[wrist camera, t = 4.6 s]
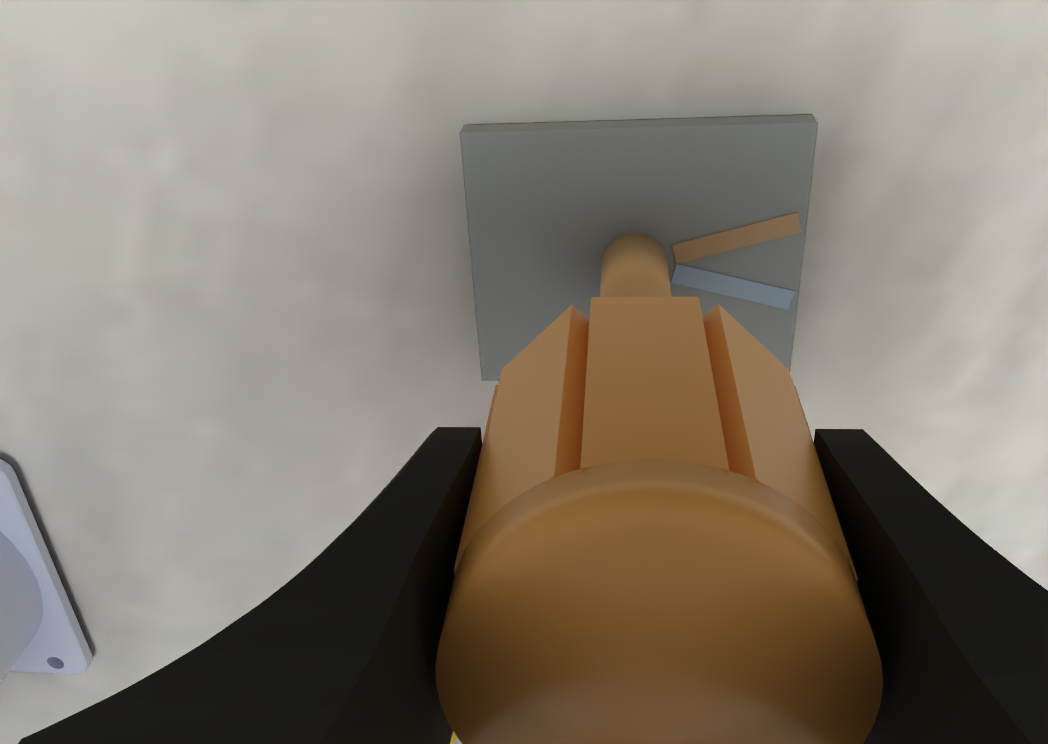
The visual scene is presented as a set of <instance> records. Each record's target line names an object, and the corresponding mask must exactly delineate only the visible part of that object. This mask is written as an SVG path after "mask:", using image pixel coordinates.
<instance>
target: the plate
mask: <svg viewBox="0 0 1048 744" xmlns="http://www.w3.org/2000/svg"><path fill="white" fill-rule="evenodd" d="M817 125H818V122H817V121H816V119H815V118H814V117H813V115H778V116H745V117H712V118H679V119H646V120H613V121H579V122H546V123H513V124H480V125H464V126H463V128H462V130H461V132H460V139H461V151H462V162H463V173H464V184H465V195H466V207H467V218H468V229H469V240H470V251H471V263H472V274H473V285H474V296H475V307H476V319H477V330H478V341H479V352H480V363H481V374H482V380H500V377H501V373H502V369H503V368H504V367H505V366H506V365H507V364H508V363H509V362H510V361H512V360H513V359H514V358H515V357H516V356H517V355H518V354H519V353H520V352H521V351H522V350H523V349H524V348H525V347H527V346H528V345H529V344H530V343H531V342H532V341H533V340H534V339H535V338H536V337H537V336H538V335H539V334H541V333H542V332H543V331H544V330H545V329H546V328H547V327H548V326H549V325H550V324H551V323H552V322H553V321H555V320H556V319H557V318H558V317H559V316H560V315H561V314H562V313H563V312H564V311H565V310H566V309H567V308H569V307H570V306H571V305H573V306H574V307H575V308H576V309H577V310H578V311H579V312H581V313H582V314H583V315H584V316H585V317H586V318H587V319H589V320H590V303H591V297H698V296H699V300H700V306H701V312H702V317H703V316H704V315H706V314H707V313H708V312H709V311H710V310H712V309H713V308H714V307H715V306H716V305H718V304H719V305H720V306H721V307H722V308H723V309H725V310H726V311H727V312H728V313H729V314H730V315H731V316H732V317H733V318H734V319H735V320H736V321H737V322H738V323H740V324H741V325H742V326H743V327H744V328H745V329H746V330H747V331H748V332H749V333H750V334H751V335H752V336H753V337H755V338H756V339H757V340H758V341H759V342H760V343H761V344H762V345H763V346H764V347H765V348H766V349H767V350H768V351H770V352H771V353H772V354H773V355H774V356H775V357H776V358H777V359H778V360H779V361H780V362H781V363H782V364H783V365H785V366H786V367H787V368H788V369H789V372H790V365H791V356H792V348H793V339H794V330H795V321H796V312H797V303H798V294H799V285H800V276H801V267H802V258H803V250H804V241H805V232H806V223H807V214H808V205H809V196H810V187H811V178H812V169H813V160H814V152H815V143H816V134H817Z"/></svg>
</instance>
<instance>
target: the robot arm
mask: <svg viewBox="0 0 1048 744" xmlns="http://www.w3.org/2000/svg"><path fill="white" fill-rule="evenodd" d="M814 446H815V449H816V452H817V455H818V458H819V461H820V464H821V467H822V470H823V473H824V476H825V479H826V482H827V485H828V489H829V492H830V495H831V498H832V501H833V504H834V507H835V510H836V513H837V516H838V519H839V522H840V525H841V528H842V532H843V535H844V538H845V541H846V544H847V547H848V550H849V553H850V556H851V559H852V562H853V565H854V568H855V571H856V574H857V578H858V582H857V586H858V589H859V592H860V595H861V598H862V601H863V604H864V607H865V610H866V614H867V617H868V620H869V623H870V626H871V629H872V632H873V635H874V638H875V642H876V645H877V649H878V652H879V656H880V659H881V663H882V675H883V689H882V697H881V704H880V707H879V710H878V713H877V717H876V720H875V723H874V725H873V727H872V728H871V730H870V732H869V734H868V736H867V738H866V740H865V742H864V743H863V744H1048V591H1047V590H1046V589H1045V588H1043V587H1042V586H1041V585H1039V584H1038V583H1037V582H1035V581H1034V580H1032V579H1031V578H1030V577H1028V576H1027V575H1026V574H1024V573H1023V572H1022V571H1021V570H1019V569H1018V568H1017V567H1016V566H1014V565H1013V564H1012V563H1011V562H1009V561H1008V560H1007V559H1006V558H1004V557H1003V556H1002V555H1001V554H999V553H998V552H997V551H995V550H994V549H993V548H992V547H990V546H989V545H988V544H987V543H985V542H984V541H983V540H982V539H981V538H980V537H978V536H977V535H976V534H975V533H974V532H972V531H971V530H970V529H969V528H968V527H967V526H965V525H964V524H963V523H962V522H961V521H960V520H959V519H957V518H956V517H955V516H954V515H953V514H952V513H951V512H950V511H948V510H947V509H946V508H945V507H944V506H943V505H942V504H941V503H940V502H938V501H937V500H936V499H935V498H934V497H933V496H932V495H931V494H930V493H929V492H928V491H927V490H925V489H924V488H923V487H922V486H921V485H920V484H919V483H918V482H917V481H916V480H915V479H914V478H913V477H912V476H911V475H910V474H909V473H908V472H907V471H905V470H904V469H903V468H902V467H901V466H900V465H899V464H898V463H897V462H896V461H895V460H894V459H893V458H892V457H891V456H890V455H889V454H888V453H887V452H886V451H885V450H884V449H883V448H882V447H881V446H880V445H879V444H878V443H877V442H876V441H874V440H873V439H872V438H871V437H870V436H869V435H868V434H867V433H866V432H865V431H864V430H863V429H815V437H814ZM481 448H482V439H481V428H480V427H437V428H436V429H435V430H434V431H433V432H432V433H431V434H430V435H429V437H428V438H427V439H426V440H425V441H424V442H423V444H422V445H421V446H420V447H419V449H418V450H417V451H416V452H415V453H414V455H413V456H412V457H411V458H410V459H409V461H408V462H407V463H406V464H405V465H404V466H403V468H402V469H401V470H400V471H399V472H398V473H397V475H396V476H395V477H394V478H393V479H392V480H391V482H390V483H389V484H388V485H387V486H386V487H385V488H384V489H383V490H382V492H381V493H380V494H379V495H378V496H377V497H376V498H375V499H374V500H373V501H372V502H371V504H370V505H369V506H368V507H367V508H366V509H365V510H364V511H363V512H362V513H361V514H360V515H359V516H358V518H357V519H356V520H355V521H354V522H353V523H352V524H351V525H350V526H349V527H348V528H347V529H345V530H344V531H343V532H342V533H341V534H340V535H339V536H338V537H337V538H336V539H335V540H334V541H333V542H332V543H331V544H330V545H329V546H328V547H327V548H326V549H325V550H324V551H323V552H322V553H321V554H320V555H319V556H318V557H317V558H315V559H314V560H313V561H312V562H311V563H310V564H309V565H308V566H306V567H305V568H304V569H303V570H302V571H301V572H300V573H298V574H297V575H296V576H295V577H294V578H293V579H291V580H290V581H289V582H288V583H286V584H285V585H284V586H283V587H281V588H280V589H279V590H278V591H276V592H275V593H274V594H273V595H271V596H270V597H269V598H267V599H266V600H265V601H263V602H262V603H261V604H259V605H258V606H257V607H255V608H254V609H252V610H251V611H249V612H248V613H247V614H245V615H244V616H242V617H241V618H239V619H238V620H236V621H235V622H233V623H232V624H230V625H229V626H228V627H226V628H225V629H223V630H222V631H220V632H219V633H217V634H216V635H214V636H213V637H212V638H210V639H209V640H207V641H206V642H204V643H203V644H201V645H200V646H198V647H196V648H195V649H193V650H192V651H190V652H188V653H187V654H185V655H183V656H182V657H180V658H178V659H177V660H175V661H173V662H172V663H170V664H168V665H167V666H165V667H163V668H162V669H160V670H158V671H156V672H155V673H153V674H151V675H149V676H147V677H146V678H144V679H142V680H140V681H138V682H137V683H135V684H133V685H131V686H130V687H128V688H126V689H124V690H122V691H120V692H118V693H116V694H114V695H113V696H111V697H109V698H107V699H105V700H103V701H101V702H99V703H96V704H94V705H92V706H90V707H88V708H86V709H84V710H82V711H80V712H78V713H76V714H74V715H72V716H70V717H68V718H65V719H63V720H61V721H59V722H57V723H55V724H53V725H51V726H49V727H47V728H45V729H43V730H41V731H38V732H36V733H34V734H32V735H29V736H27V737H25V738H23V739H21V741H20V742H19V743H18V744H450V741H451V737H452V733H453V729H452V728H451V726H450V725H449V723H448V720H447V718H446V716H445V713H444V711H443V709H442V706H441V703H440V699H439V695H438V691H437V687H436V669H435V666H436V659H437V651H438V645H439V641H440V636H441V632H442V627H443V623H444V619H445V614H446V610H447V605H448V601H449V596H450V592H451V588H452V583H453V579H454V576H455V573H454V567H455V562H456V558H457V554H458V549H459V545H460V540H461V536H462V532H463V527H464V523H465V519H466V514H467V510H468V505H469V501H470V497H471V492H472V488H473V483H474V479H475V475H476V470H477V466H478V461H479V457H480V453H481ZM92 660H93V658H92V654H91V651H90V649H89V647H88V644H87V642H86V640H85V637H84V635H83V632H82V630H81V628H80V625H79V623H78V621H77V618H76V616H75V614H74V611H73V609H72V606H71V604H70V602H69V599H68V597H67V595H66V592H65V590H64V587H63V585H62V583H61V580H60V578H59V576H58V573H57V571H56V568H55V566H54V564H53V561H52V559H51V557H50V554H49V552H48V550H47V547H46V545H45V542H44V540H43V538H42V535H41V533H40V531H39V528H38V526H37V523H36V521H35V519H34V516H33V514H32V512H31V509H30V507H29V504H28V502H27V500H26V497H25V495H24V493H23V490H22V488H21V485H20V483H19V481H18V478H17V476H16V474H15V472H14V470H13V469H12V467H11V466H10V465H9V464H8V463H7V462H5V461H3V460H1V459H0V683H1V681H2V680H3V678H4V677H5V676H6V674H7V673H8V672H9V671H14V672H43V673H72V674H76V673H83V672H84V671H86V670H87V668H88V667H89V665H90V664H91V662H92Z"/></svg>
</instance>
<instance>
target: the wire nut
mask: <svg viewBox="0 0 1048 744" xmlns="http://www.w3.org/2000/svg"><path fill="white" fill-rule="evenodd" d="M454 573H455V576H454V579H453V583H452V588H451V592H450V596H449V601H448V605H447V610H446V614H445V619H444V623H443V627H442V632H441V636H440V641H439V645H438V651H437V659H436V666H435V669H436V687H437V691H438V695H439V699H440V703H441V706H442V709H443V711H444V713H445V716H446V718H447V720H448V723H449V725H450V726H451V728H452V729H453V731H454V732H455V734H456V736H457V737H458V739H459V740H460V742H461V743H462V744H863V743H864V742H865V740H866V738H867V736H868V734H869V732H870V730H871V728H872V727H873V725H874V723H875V720H876V717H877V713H878V710H879V707H880V704H881V697H882V689H883V675H882V663H881V659H880V656H879V652H878V649H877V645H876V642H875V638H874V635H873V632H872V629H871V626H870V623H869V620H868V617H867V614H866V610H865V607H864V604H863V601H862V598H861V595H860V592H859V589H858V586H857V582H858V578H857V574H856V571H855V568H854V565H853V562H852V559H851V556H850V553H849V550H848V547H847V544H846V541H845V538H844V535H843V532H842V528H841V525H840V522H839V519H838V516H837V513H836V510H835V507H834V504H833V501H832V498H831V495H830V492H829V489H828V485H827V482H826V479H825V476H824V473H823V470H822V467H821V464H820V461H819V458H818V455H817V452H816V449H815V446H814V442H813V439H812V436H811V433H810V430H809V427H808V424H807V421H806V418H805V415H804V412H803V409H802V406H801V403H800V399H799V396H798V393H797V390H796V387H795V386H794V384H793V381H792V378H791V375H790V372H789V369H788V368H787V367H786V366H785V365H783V364H782V363H781V362H780V361H779V360H778V359H777V358H776V357H775V356H774V355H773V354H772V353H771V352H770V351H768V350H767V349H766V348H765V347H764V346H763V345H762V344H761V343H760V342H759V341H758V340H757V339H756V338H755V337H753V336H752V335H751V334H750V333H749V332H748V331H747V330H746V329H745V328H744V327H743V326H742V325H741V324H740V323H738V322H737V321H736V320H735V319H734V318H733V317H732V316H731V315H730V314H729V313H728V312H727V311H726V310H725V309H723V308H722V307H721V306H720V305H719V304H718V305H716V306H715V307H714V308H713V309H712V310H710V311H709V312H708V313H707V314H706V315H704V316H703V317H702V312H701V306H700V300H699V296H698V297H591V303H590V320H589V319H587V318H586V317H585V316H584V315H583V314H582V313H581V312H579V311H578V310H577V309H576V308H575V307H574V306H573V305H571V306H570V307H569V308H567V309H566V310H565V311H564V312H563V313H562V314H561V315H560V316H559V317H558V318H557V319H556V320H555V321H553V322H552V323H551V324H550V325H549V326H548V327H547V328H546V329H545V330H544V331H543V332H542V333H541V334H539V335H538V336H537V337H536V338H535V339H534V340H533V341H532V342H531V343H530V344H529V345H528V346H527V347H525V348H524V349H523V350H522V351H521V352H520V353H519V354H518V355H517V356H516V357H515V358H514V359H513V360H512V361H510V362H509V363H508V364H507V365H506V366H505V367H504V368H503V369H502V373H501V377H500V382H499V385H496V387H495V391H494V395H493V400H492V404H491V409H490V413H489V417H488V422H487V426H486V431H485V435H484V439H483V444H482V448H481V453H480V457H479V461H478V466H477V470H476V475H475V479H474V483H473V488H472V492H471V497H470V501H469V505H468V510H467V514H466V519H465V523H464V527H463V532H462V536H461V540H460V545H459V549H458V554H457V558H456V562H455V567H454Z"/></svg>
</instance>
